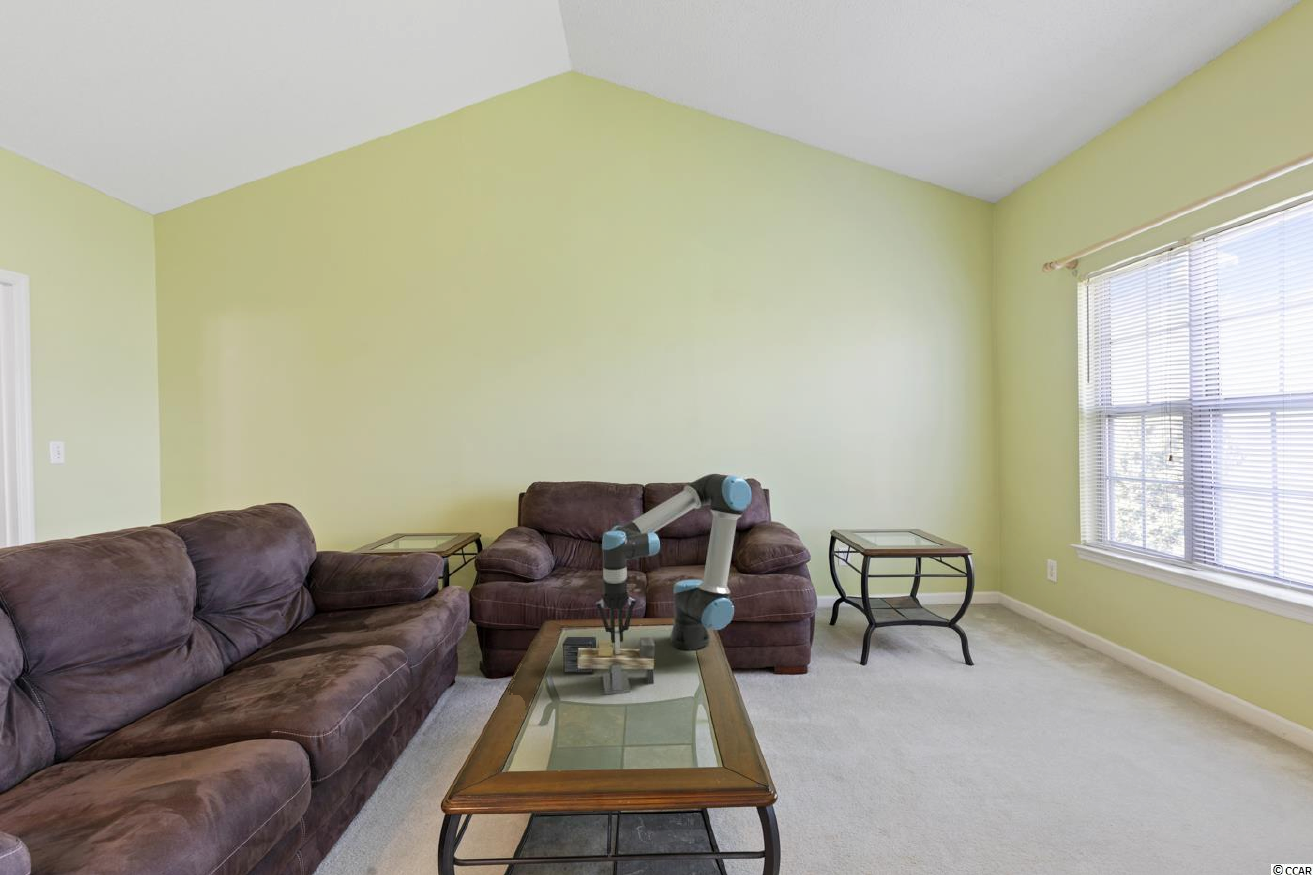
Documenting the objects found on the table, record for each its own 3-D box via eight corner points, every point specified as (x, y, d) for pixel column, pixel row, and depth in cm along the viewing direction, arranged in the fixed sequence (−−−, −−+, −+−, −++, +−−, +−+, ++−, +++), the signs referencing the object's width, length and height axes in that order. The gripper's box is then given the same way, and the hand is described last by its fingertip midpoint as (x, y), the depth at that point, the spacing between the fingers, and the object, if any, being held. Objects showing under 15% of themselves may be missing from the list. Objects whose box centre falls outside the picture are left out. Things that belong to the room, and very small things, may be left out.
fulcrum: (649, 670, 186) (648, 644, 186) (655, 689, 174) (654, 661, 174) (602, 676, 184) (601, 649, 183) (604, 694, 172) (603, 666, 171)
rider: (610, 656, 180) (611, 641, 180) (611, 662, 175) (613, 647, 175) (596, 656, 179) (598, 640, 179) (597, 662, 175) (598, 646, 175)
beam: (649, 657, 184) (651, 636, 184) (653, 670, 175) (655, 647, 175) (577, 656, 181) (579, 634, 180) (577, 669, 171) (579, 646, 171)
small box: (597, 665, 192) (596, 635, 191) (593, 674, 185) (592, 644, 185) (568, 665, 193) (567, 635, 192) (563, 673, 186) (562, 643, 186)
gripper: (633, 574, 181) (636, 645, 183) (594, 577, 179) (596, 648, 180) (636, 581, 174) (638, 654, 175) (595, 585, 172) (597, 658, 173)
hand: (617, 651), depth 178 cm, fingers closed
